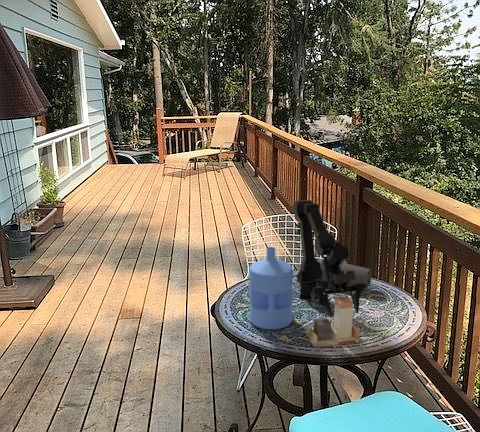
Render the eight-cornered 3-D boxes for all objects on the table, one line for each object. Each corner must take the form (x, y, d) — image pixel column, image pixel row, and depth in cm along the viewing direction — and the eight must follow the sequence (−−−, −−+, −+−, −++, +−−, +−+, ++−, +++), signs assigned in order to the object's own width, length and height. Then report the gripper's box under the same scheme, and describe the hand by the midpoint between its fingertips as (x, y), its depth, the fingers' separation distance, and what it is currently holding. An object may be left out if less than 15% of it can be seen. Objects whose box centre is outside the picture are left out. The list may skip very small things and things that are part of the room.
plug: (333, 332, 169) (335, 297, 166) (346, 330, 170) (347, 296, 167) (338, 338, 165) (340, 303, 162) (351, 337, 166) (353, 302, 162)
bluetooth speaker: (371, 287, 206) (372, 264, 204) (364, 295, 199) (365, 272, 196) (320, 276, 218) (321, 255, 215) (312, 284, 210) (312, 262, 208)
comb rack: (306, 335, 170) (306, 317, 168) (349, 330, 172) (349, 312, 170) (314, 347, 162) (314, 328, 160) (359, 342, 165) (359, 323, 163)
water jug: (250, 310, 189) (248, 241, 181) (291, 310, 188) (291, 240, 180) (249, 331, 174) (248, 256, 166) (294, 330, 173) (294, 256, 165)
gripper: (313, 265, 163) (324, 310, 156) (366, 259, 166) (379, 303, 159) (305, 277, 173) (315, 320, 165) (355, 272, 176) (367, 314, 169)
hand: (344, 314), depth 164 cm, fingers open, 9 cm apart
